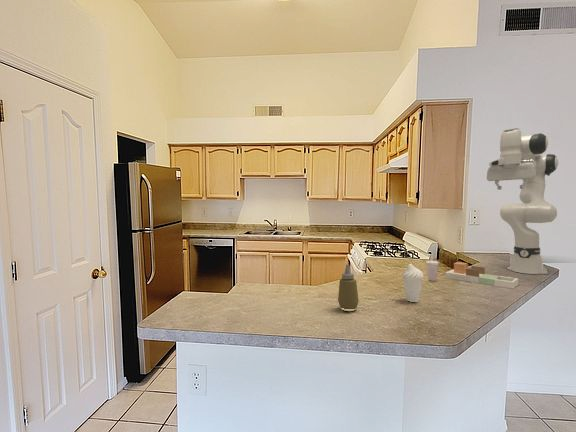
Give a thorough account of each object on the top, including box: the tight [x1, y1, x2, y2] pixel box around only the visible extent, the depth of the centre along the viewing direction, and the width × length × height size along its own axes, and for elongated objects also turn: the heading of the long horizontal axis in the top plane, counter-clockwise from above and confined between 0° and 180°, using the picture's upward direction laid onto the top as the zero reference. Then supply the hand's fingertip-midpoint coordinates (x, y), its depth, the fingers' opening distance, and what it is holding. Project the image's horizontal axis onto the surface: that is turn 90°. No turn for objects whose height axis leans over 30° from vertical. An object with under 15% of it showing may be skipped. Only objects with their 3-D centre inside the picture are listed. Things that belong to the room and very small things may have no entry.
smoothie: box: [425, 253, 440, 282], centre depth 165 cm, size 6×6×14 cm
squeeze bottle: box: [337, 264, 360, 309], centre depth 123 cm, size 8×8×18 cm
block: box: [453, 261, 468, 274], centre depth 168 cm, size 5×5×5 cm
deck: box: [444, 265, 520, 289], centre depth 161 cm, size 10×30×6 cm, turn 42°
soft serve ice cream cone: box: [401, 263, 424, 303], centre depth 131 cm, size 8×8×16 cm
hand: (510, 189), depth 157 cm, fingers open, 8 cm apart
